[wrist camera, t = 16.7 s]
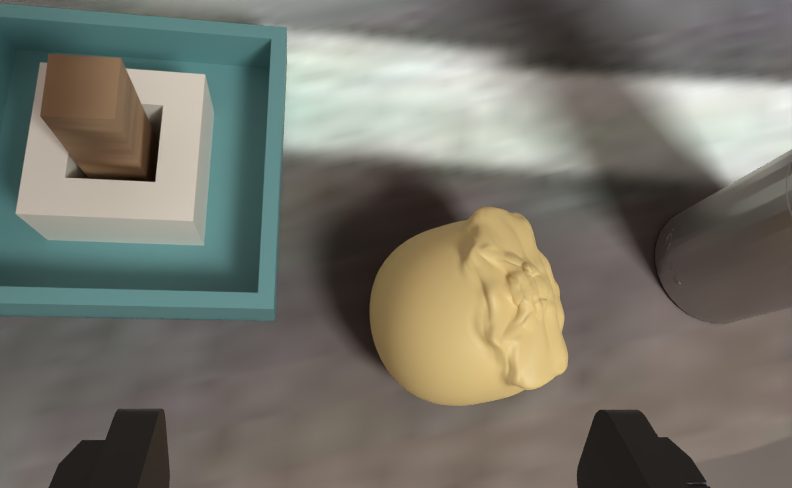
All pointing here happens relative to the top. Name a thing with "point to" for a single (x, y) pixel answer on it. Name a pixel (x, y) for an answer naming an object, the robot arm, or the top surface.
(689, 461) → the robot arm
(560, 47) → the top surface
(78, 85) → the peg
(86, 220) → the socket box
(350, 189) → the top surface
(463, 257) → the sculpture
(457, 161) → the top surface
